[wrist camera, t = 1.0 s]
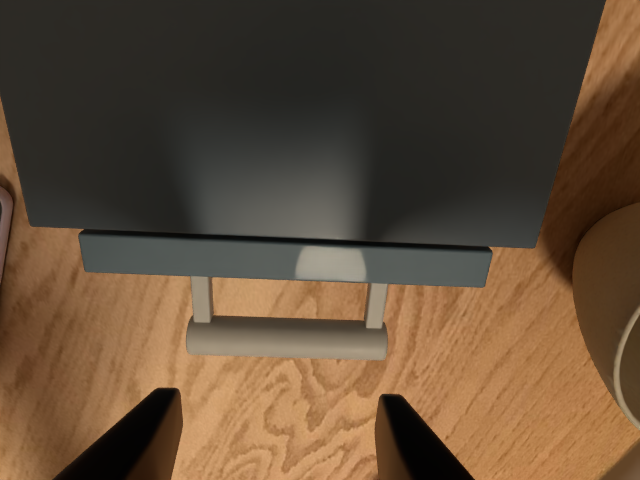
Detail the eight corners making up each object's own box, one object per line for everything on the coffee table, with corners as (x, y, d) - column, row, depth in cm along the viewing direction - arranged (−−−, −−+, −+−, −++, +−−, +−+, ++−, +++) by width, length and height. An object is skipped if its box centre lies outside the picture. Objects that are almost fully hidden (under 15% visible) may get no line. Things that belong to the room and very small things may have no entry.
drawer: (411, 293, 20) (458, 399, 14) (168, 284, 20) (104, 390, 13) (494, -200, 13) (660, -426, 7) (120, -235, 13) (-61, -514, 6)
